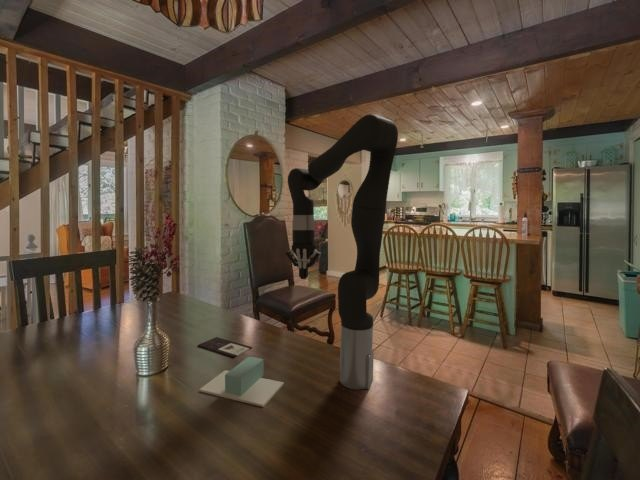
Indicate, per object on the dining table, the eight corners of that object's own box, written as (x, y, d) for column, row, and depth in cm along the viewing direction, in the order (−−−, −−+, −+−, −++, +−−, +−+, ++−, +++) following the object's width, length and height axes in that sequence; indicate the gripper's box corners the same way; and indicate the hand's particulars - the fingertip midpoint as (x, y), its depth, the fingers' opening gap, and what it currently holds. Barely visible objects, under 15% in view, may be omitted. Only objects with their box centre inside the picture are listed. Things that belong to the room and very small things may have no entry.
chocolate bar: (216, 337, 128) (251, 347, 119) (216, 339, 128) (251, 349, 119) (197, 345, 120) (234, 356, 111) (197, 347, 120) (234, 359, 111)
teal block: (263, 359, 98) (240, 378, 87) (263, 375, 99) (241, 396, 87) (249, 356, 100) (225, 374, 89) (249, 372, 100) (225, 392, 89)
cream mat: (283, 384, 95) (283, 382, 95) (263, 406, 84) (263, 404, 84) (225, 372, 101) (225, 370, 101) (199, 391, 90) (199, 389, 90)
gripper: (280, 228, 110) (281, 279, 112) (317, 229, 106) (317, 282, 107) (290, 227, 117) (290, 275, 119) (325, 228, 113) (325, 278, 114)
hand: (303, 278), depth 113 cm, fingers closed
